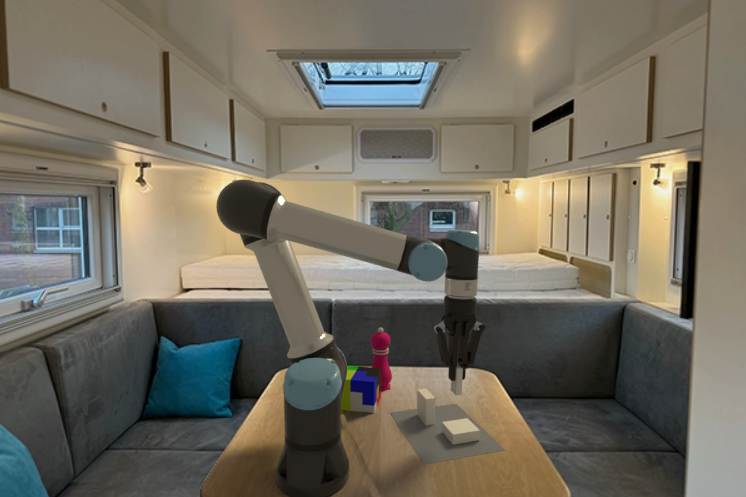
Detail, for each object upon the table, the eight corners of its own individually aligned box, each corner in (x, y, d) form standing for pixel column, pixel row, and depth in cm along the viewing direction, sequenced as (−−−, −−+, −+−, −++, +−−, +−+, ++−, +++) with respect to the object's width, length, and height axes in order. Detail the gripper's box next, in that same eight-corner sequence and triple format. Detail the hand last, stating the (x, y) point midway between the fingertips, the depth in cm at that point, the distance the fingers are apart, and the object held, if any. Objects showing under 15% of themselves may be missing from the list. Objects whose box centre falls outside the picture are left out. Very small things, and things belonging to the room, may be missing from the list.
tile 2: (452, 445, 97) (479, 440, 99) (453, 434, 97) (479, 430, 99) (441, 432, 103) (467, 428, 105) (441, 422, 103) (467, 418, 105)
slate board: (505, 454, 96) (505, 450, 96) (424, 469, 90) (424, 464, 90) (456, 407, 119) (456, 403, 119) (389, 416, 113) (389, 412, 113)
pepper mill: (378, 383, 135) (378, 323, 133) (396, 389, 131) (397, 327, 129) (363, 390, 130) (364, 327, 128) (382, 397, 125) (382, 332, 123)
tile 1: (435, 424, 107) (435, 397, 106) (425, 425, 106) (426, 399, 106) (426, 413, 113) (426, 388, 112) (416, 414, 112) (417, 389, 111)
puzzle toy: (374, 417, 113) (374, 381, 112) (338, 413, 115) (338, 378, 114) (380, 401, 123) (381, 368, 122) (348, 398, 125) (348, 365, 124)
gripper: (442, 300, 93) (437, 402, 95) (493, 298, 96) (488, 396, 98) (428, 293, 100) (424, 388, 102) (477, 291, 103) (472, 383, 105)
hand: (456, 392), depth 100 cm, fingers closed
